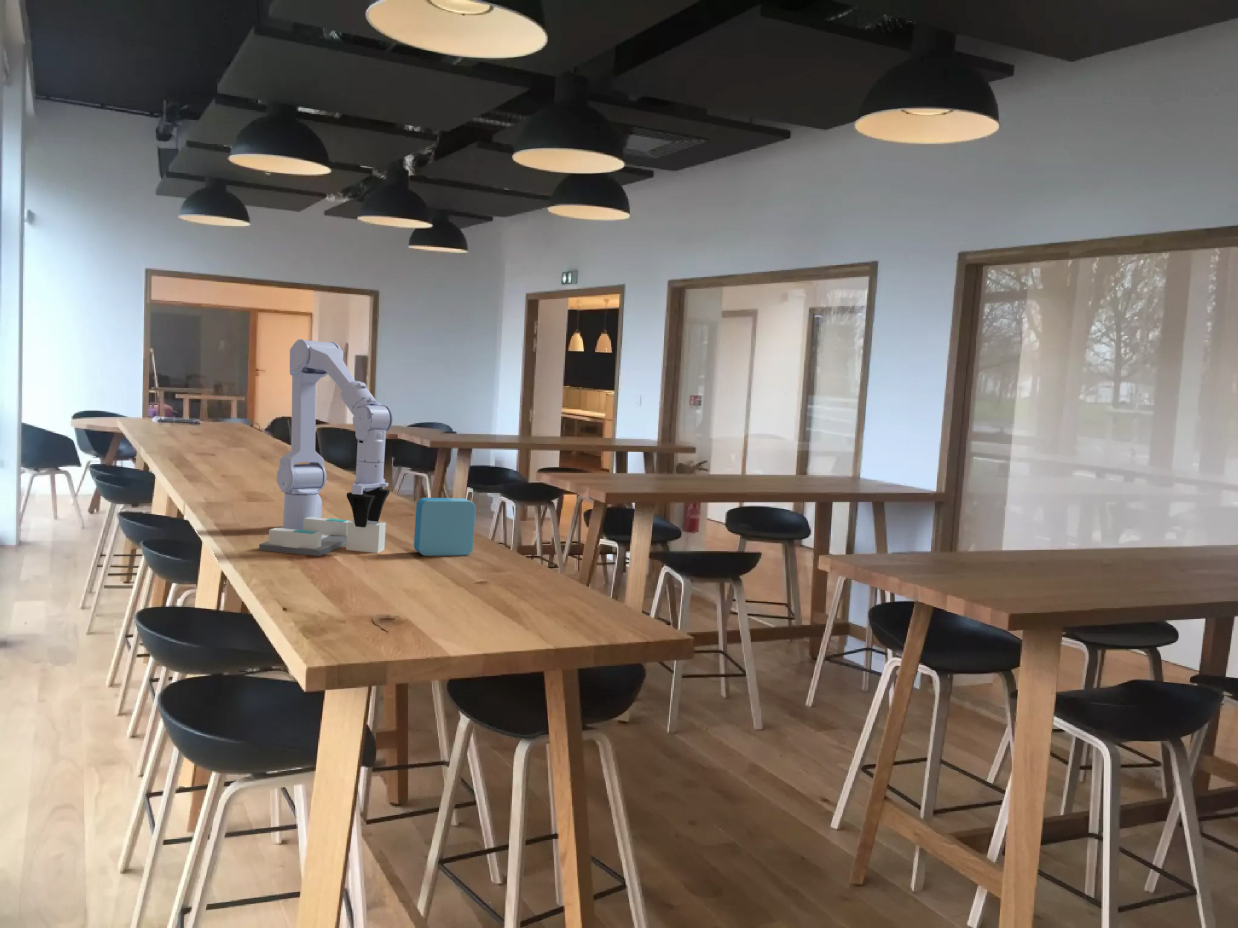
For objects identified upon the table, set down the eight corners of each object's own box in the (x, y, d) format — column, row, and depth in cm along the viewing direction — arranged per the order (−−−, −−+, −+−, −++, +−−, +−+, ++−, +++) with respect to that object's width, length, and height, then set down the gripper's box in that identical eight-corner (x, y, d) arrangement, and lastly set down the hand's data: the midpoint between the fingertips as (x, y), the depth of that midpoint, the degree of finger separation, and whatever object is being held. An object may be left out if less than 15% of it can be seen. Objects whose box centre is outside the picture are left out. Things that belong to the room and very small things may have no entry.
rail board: (304, 533, 219) (305, 514, 219) (359, 539, 218) (360, 520, 218) (259, 549, 198) (260, 529, 197) (320, 556, 196) (321, 535, 196)
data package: (466, 551, 214) (469, 498, 213) (472, 555, 210) (476, 501, 209) (413, 552, 209) (416, 497, 208) (418, 556, 205) (422, 500, 204)
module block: (353, 547, 209) (354, 519, 209) (384, 550, 209) (385, 522, 208) (346, 550, 205) (347, 521, 205) (377, 553, 205) (379, 524, 204)
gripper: (376, 465, 198) (373, 530, 199) (399, 460, 212) (396, 521, 213) (343, 462, 198) (340, 527, 199) (368, 457, 213) (365, 518, 214)
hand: (367, 524), depth 206 cm, fingers open, 7 cm apart
